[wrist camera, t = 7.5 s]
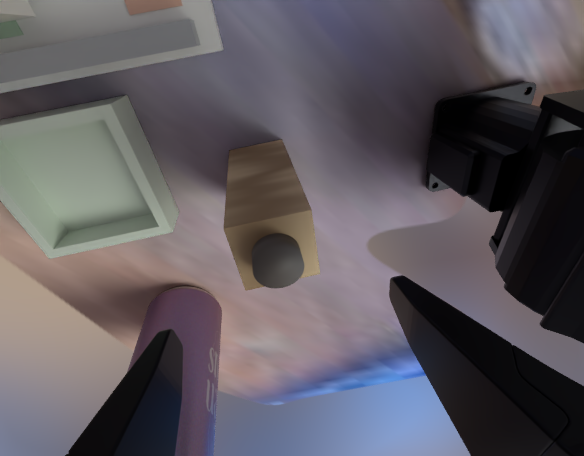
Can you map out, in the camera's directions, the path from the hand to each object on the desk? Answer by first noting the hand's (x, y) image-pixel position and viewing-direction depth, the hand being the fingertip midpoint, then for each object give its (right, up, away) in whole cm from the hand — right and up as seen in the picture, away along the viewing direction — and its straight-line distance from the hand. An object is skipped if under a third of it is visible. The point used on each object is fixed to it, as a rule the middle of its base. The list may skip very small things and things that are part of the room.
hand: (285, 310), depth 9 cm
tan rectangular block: (-2, +7, +10) cm, 12 cm away
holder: (-12, +6, +8) cm, 16 cm away
